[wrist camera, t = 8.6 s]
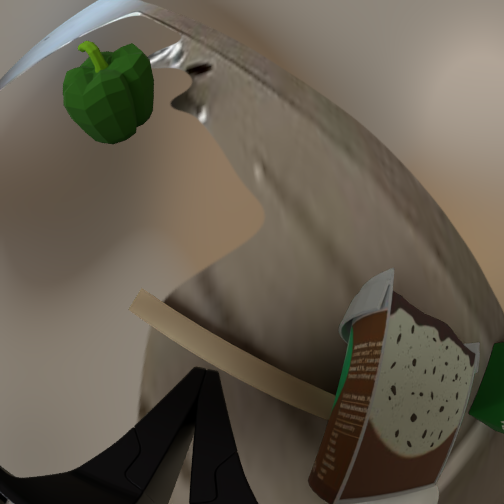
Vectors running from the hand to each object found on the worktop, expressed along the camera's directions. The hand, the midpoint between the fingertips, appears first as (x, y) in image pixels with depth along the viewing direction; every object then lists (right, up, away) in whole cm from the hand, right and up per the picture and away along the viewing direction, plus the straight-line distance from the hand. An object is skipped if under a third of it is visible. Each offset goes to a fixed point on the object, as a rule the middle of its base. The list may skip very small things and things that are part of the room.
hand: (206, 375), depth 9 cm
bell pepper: (-11, +17, +14) cm, 25 cm away
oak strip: (+1, -3, +7) cm, 8 cm away
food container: (+7, -8, +1) cm, 11 cm away
